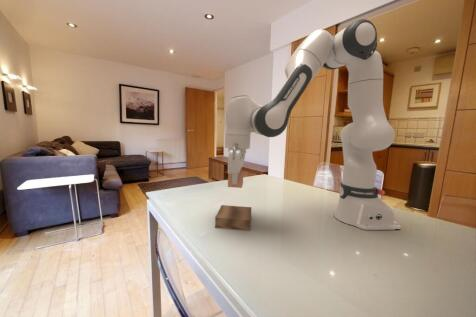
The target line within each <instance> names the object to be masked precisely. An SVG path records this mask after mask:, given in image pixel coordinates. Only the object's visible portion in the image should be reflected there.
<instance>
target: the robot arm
mask: <svg viewBox="0 0 476 317" xmlns="http://www.w3.org/2000/svg"><path fill="white" fill-rule="evenodd" d="M377 47H378V33H377V28H376V26H375V25H374V23H373V22H372V21H371V20H369V19H367V18H361V19H358V20H355V21H354V22H351V23H349V24H348V25H346V27H344V28H343V29H342V30H340V31H339V32H338V33H336V34H335V35H332V34H331V33H330V32H329V31H327V30H325V29H320V28H319V29H316V30H313V31H312V32H311V33H309V34H308V35H307V36H306V38H305V39H304V40H302V42H300V43H299V45H298V46H297V48H296V49H295V51H294V52H293V53H292V54H291V56H290V58H289V59H288V61H287V63H286V64H285V67H284V74H285V77H286V81H285V83H284V84H283V85H282V87H281V89H279V90H278V93H277V94H276V96H274V98H273V99H272V100H271V101H269V102H267V104H264V105H262V104H259V103H258V102H256V101H255V100H254V99H253V98H251V96H250V95H246V94H245V95H237V96H234V97H231V98H230V99H229V100H228V102H227V106H226V110H225V111H226V113H225V124H226V130H225V135H224V136H225V137H224V141H225V142H224V148H227V149H228V151H227V152H228V157H227V174H228V173H229V174H232V184H237V182H238V174H239V172H240V171H242V168H243V165H244V163H245V156H246V153H247V150H249V149H250V148H251V136H252V135H251V134H252V133H255V134H256V135H260V136H263V137H267V138H275V137H278V136H280V135H281V134H283V133H284V131H285V130H286V128H287V127H288V126H287V125H288V123H289V120H290V116H291V113H292V110H293V109H294V107H295V105H296V104H297V103H298V101H299V100H300V99H301V96H302V95H303V93H304V92H305V90H306V88H307V87H308V85H309V84H310V83H311V82H312V80H314V79H315V77H317V75H318V73H319V72H320V70H321V69H322V68H324V69H326V70H333V71H334V70H336V69H340V68H341V67H344V66H345V67H346V69H347V72H348V81H347V107H348V110H350V113H351V117H352V122H351V123H348V124H347V125H345V126H344V127H343V128H341V131H340V133H339V139H340V141H341V144H342V145H341V146H342V155H343V169H342V181H341V182H340V186H339V198H338V203H337V206H336V209H335V211H334V214H333V216H334V217H335V219H337V220H338V221H340V222H343V223H344V224H348V225H350V226H354V227H357V228H359V229H361V230H364V231H374V230H375V231H378V230H379V231H380V230H382V231H384V230H385V231H386V230H387V231H389V230H390V231H393V230H394V231H396V230H395V229H400V230H401V229H402V226H401V224H400V222H398V221H397V220H396V219H395V214H394V211H393V209H392V208H391V207H390V206H389V205H388V204H387V203H386V202H385V201H383V200H382V199H381V198H380V197H379V195H380V196H384V195H385V194H386V192H385V190H382V189H378V188H377V187H375V183H376V177H377V169H378V168H377V164H376V162H375V160H374V156H373V155H374V154H373V152H379V151H383V150H386V149H387V148H389V147H390V146H391V145H392V144H393V142H394V141H395V137H396V132H395V130H394V127H393V126H392V125H391V124H390V123H389V121H388V118H387V115H386V112H385V108H384V100H383V99H384V67H383V59H382V55H381V53H380V52H379V51H377Z"/></svg>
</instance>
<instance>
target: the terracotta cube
mask: <svg viewBox="0 0 476 317" xmlns="http://www.w3.org/2000/svg"><path fill="white" fill-rule="evenodd" d="M243 184H244V171H243V170H240V172H239V174H238V182H237V184H232V174H229V173H228V172H227V187H228V188H237V189H238V188H239V189H242V188H243Z"/></svg>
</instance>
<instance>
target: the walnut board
mask: <svg viewBox="0 0 476 317" xmlns="http://www.w3.org/2000/svg"><path fill="white" fill-rule="evenodd" d="M251 220H252V207H251V206H238V205H227V204H225V205H224V204H222V205H220V207H219V210H218V211H217V213H216V216H215V219H214V228H215V229H224V230H239V231H251V230H250V229H251V224H252V223H251V222H252V221H251Z"/></svg>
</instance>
